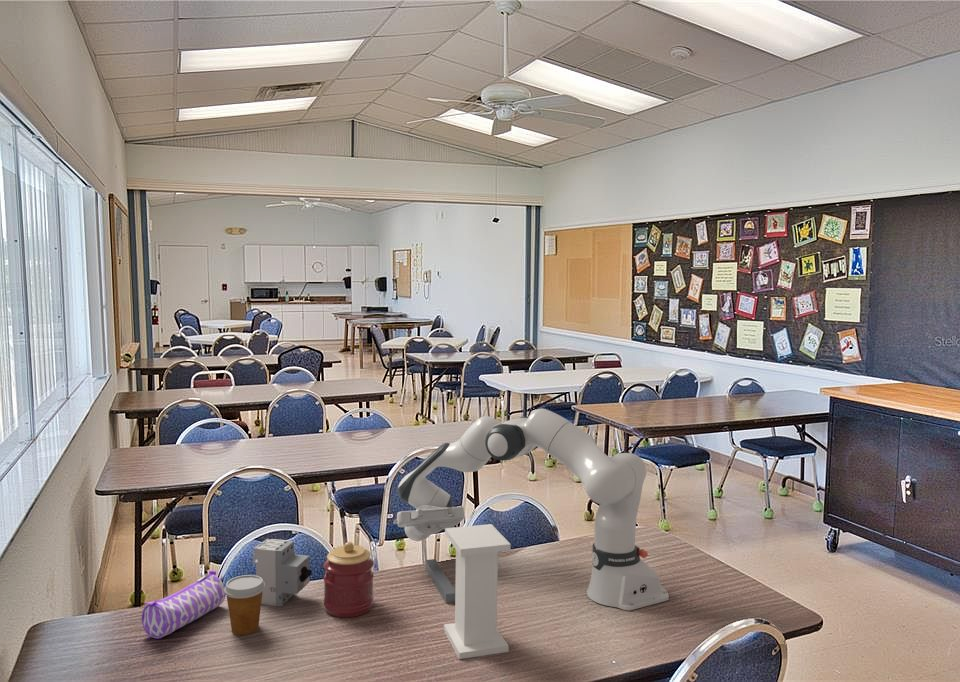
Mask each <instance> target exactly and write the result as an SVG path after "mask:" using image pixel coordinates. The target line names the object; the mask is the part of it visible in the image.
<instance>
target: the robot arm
mask: <svg viewBox="0 0 960 682" xmlns="http://www.w3.org/2000/svg"><path fill="white" fill-rule="evenodd" d="M538 448H540V449H541V450H543V451H544V452H546V453H547V454H548V455H550V456H551V457H552V458H554V459H555V460H556V461H558V462H559V463H561V464H562V465H563V466H564V467H566V468H568V470H570V471H571V472H572V473H573V474H574V475H575V476H576V478H578V480H579V481H580V482H581V483H582V485H583V486H584V490H585V493H586V494H587V496H588V498H589V499H590V500H591V501H593V502H594V503H596V504H599V505H598V508H597V511H596V513H595V518H594V538H593V539H594V540H593V541H594V542H593V543H592V549H591V550H592V553H591V563H592V569H591V575H590V579H589V584H588V587H587V590H586V595H587V597H588V598H589V599H590V600H592V601H593V602H595V603H598V604H600V605H604V606H607V607H612V608H619V609H620V610H623V611H634V610H637V609H640V608H644V607H647V606H651V605H656V604H659V603H660V604H661V603H663V602H666V601H669V599H670V598H669V597H670V596H669V593H668V591H667V590H666V588H665V587H663V586H662V585H661V581H660V576H659V574H658V573H657V571H655V570H654V568H652V566H650V565H648V564H647V563H646V562H645V561H644V560H643V559H646V558H647V557H648V555H649V554H648V552H647V550H645V549H644V548H640V547H639V546H638V545H636V531H637V529H636V527H637V526H636V525H637V516H638V512H639V511H638V510H639V507H640V502H641V496H642V491H643V485H644V482H645V480H646V476H647V466H646V463H645V462H644V460H643V459H642V458H641V457H640V456H639V455H637V454H635V453H632V452H631V453H630V452H621V453H617V454H615V455H613V456H609V455H607V454H606V453H605V452H604V451H602V449H601V448H600V447H599V446H598V445H597V443H596V441H595V438H594V437H593V436H592V435H590V434H588V433H587V432H586V431H584V430H582V429H581V428H580V427H578V426H577V425H576V424H574V423H573V422H571V421H569V420H568V419H567V418H565V417H563V416H561V415H560V414H558V413H555V412H553V411H552V410H548V409H546V408H538V409H535V410H534V411H532V412H531V413H530V414H529V415H528V416H520V417H517V418H514V419H508V420H506V421H504V422H502V423H501V422H499V420H498V419H496V418H494V417H492V416H489V415H483V416H481V417H479V418H478V419H476V420H475V421H474V422H473V423H472V424H471V425H470V426H469V427H468V428H467V429H466V430H465V432H464V433H463V434H462V435H461V437H460V438H459V439H458V440H456V441H454V442H445V443H442V444H440V445H439V447H438V448H435V450H434V451H432V452H431V453H430V454H429V455H428V456H427V457H426V458H425V459H424V460H423V461H421V463H420V464H418V465H417V466H416V467H415V468H414V469H412V470H411V471H410V472H409V473H407V474H406V475H405V476H404V477H402V478H401V480H400V482H399V484H398V485H397V489H396V490H397V494H398V497H399V499H400V500H401V501H403V502H404V503H406V504H408V505H410V506H412V507H413V508H415V510H404V511H403V510H402V511H398V512H397V514H396V519H394V520H393V525H397V527H398V528H404V533H405V535H406V536H407V538H408V539H409V540H411V541H414V542H422V541H425V540H426V539H427V538H429V537H430V536H431V535H432V534H433V535H434V534H437V533H439V532H443V531H445V528H455V526H456V525H458V524H460V523H461V522H463V520H464V519H465V511H464V506H453V498H452V495H450V494H449V493H448V492H447V491H445V490H444V489H442V488H441V487H439V486H437V485H436V484H435V483H433V482H432V481H430V480H428V479H427V478H426V477H427V476H428V475H429V474H431V472H433V471H434V470H435V469H436V468H438V467H442V468H443V467H444V468H450V469H453V470H456V471H459V472H462V473H474V472H477V471H479V470H481V469H482V468H483V467H485V466H486V464H487V463H488V462H489V460H490V459H491V458H493V459H494V460H497V461H501V462H503V461H510V460H513V459H515V458H519V457H523V456H525V455H527V454H529V453H531V452H533V451H535V450H536V449H538ZM641 558H642V559H641Z"/></svg>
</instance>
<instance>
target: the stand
mask: <svg viewBox="0 0 960 682" xmlns="http://www.w3.org/2000/svg"><path fill="white" fill-rule="evenodd" d="M444 535H445V537H446V538H447V539H448V540H449V542H450V543H451V545H452V546H453V547H454V548H455V588H454V589H455V602H454V603H455V605H454V606H455V607H454V623H452V622H451V623H444V624H443V631H445V632H444V634H445V635H446V638H447V639H448V641H449V642H451V643H450V645H451V644H452V645H451V646H452V648H453V650H454V652H455V654H456V656H457V658H458V659H459V660H463V659H464V660H465V659H469V658H476V657H483V656H490V655H495V654H502V653H509V650H510V649H509V648H510V647H509V644H508V643H507V641H506V640H505V639H504V637H503V635H502V634H501V632H500V631H499V629H498V628H497V626H498V625H497V624H498V620H497V619H498V581H499V580H498V576H499V575H498V574H499V570H498V569H499V568H498V565H499V552H500V553H501V552H509V551H511V549H512V548H511V545H512V544H511V543H510V542H509V541H508V540H507V539H506V538H505V536H504V535H502V533H500V531H499V530H497V528H496V526H494V525H493V524H492V523H488V524H478V525H477V524H476V525H467V526H456V527H455V526H454V528H445V530H444Z"/></svg>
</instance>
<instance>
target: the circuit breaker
mask: <svg viewBox="0 0 960 682" xmlns="http://www.w3.org/2000/svg"><path fill="white" fill-rule="evenodd" d="M252 564H253V565H255V575H256V576H259V577H261V578H262V579H263V582H264V584H265V587H264V589H263V593H262V601H261V605H268V606H276V607H282V606H283V605H284V604H285V603H286V602H287V601H289V599H291V598H292V597H293V596H294V595H298V594H299V593H300V592H301V591H302V590H303V588H305V587H306V586H307V585H308V584H309V583H311V581H310V579H311V577H310V576H312V574H313V573H312V569H310V555H305V554H296V553H295V541H294V540H288V539H278V538H277V539H275V538H271V539H270V538H266V539H265V540H263V541H262V542H261V543H259V544H258V545H256V546H255V547H253V553H252Z"/></svg>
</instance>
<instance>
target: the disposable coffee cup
mask: <svg viewBox="0 0 960 682" xmlns="http://www.w3.org/2000/svg"><path fill="white" fill-rule="evenodd" d="M225 583H226V584H225V586H224V587H225V588H224V592H225V594H226V596H225V597H226V600H227V608H228V615H229V616H228V617H229V620H230V628H231V629H230V630H231V633H233V634H234V635H236V636H247V635H250V634H251V635H252V634H253V633H255V632H257V631H258V629H259V626H260V618H261V609H262V604H261V601H262V593H263V589H264V587H265V584H264V582H263V579H262V578H261V577H259V576H256V574H255V575H254V574H245V575H244V574H243V575H239V576H235V577H233V578H230V579H229V580H228V581H227V582H225Z"/></svg>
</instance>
